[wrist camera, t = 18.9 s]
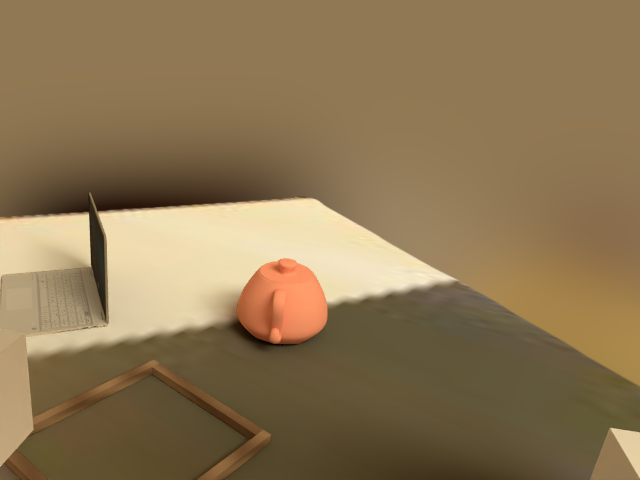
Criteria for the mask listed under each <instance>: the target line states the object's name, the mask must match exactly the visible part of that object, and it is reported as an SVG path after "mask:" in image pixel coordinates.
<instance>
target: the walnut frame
mask: <svg viewBox="0 0 640 480" xmlns="http://www.w3.org/2000/svg"><path fill="white" fill-rule="evenodd" d="M151 374H152V375H154V376H155V377H157V378H158V379H160V380H161V381H163V382H164V383H166V384H167V385H169V386H170V387H172V388H174V389H175V390H177V391H178V392H180V393H181V394H183V395H184V396H186V397H187V398H189V399H190V400H192V401H193V402H195V403H196V404H198V405H199V406H201V407H202V408H204V409H205V410H207V411H208V412H210V413H211V414H213V415H214V416H216V417H217V418H219V419H220V420H222V421H223V422H225V423H226V424H228V425H229V426H231V427H232V428H234V429H235V430H237V431H238V432H240V433H241V434H243V435H244V436H246V437H247V438H249V439H250V440H249V441H248V442H246V443H245V444H244V445H242V446H241V447H240V448H238V449H237V450H236V451H234V452H233V453H232V454H230V455H229V456H228V457H226V458H225V459H224V460H222V461H221V462H220V463H218V464H217V465H216V466H214V467H213V468H212V469H210V470H209V471H208V472H206V473H205V474H204V475H202V476H201V477H200V478H198V479H197V480H223V479H225V478H226V477H227V476H228V475H230V474H231V473H232V472H234V471H235V470H236V469H237V468H239V467H240V466H241V465H242V464H244V463H245V462H246V461H247V460H249V459H250V458H251V457H253V456H254V455H255V454H256V453H258V452H259V451H260V450H261V449H263V448H264V447H265V446H267V445H268V444H269V443H270V438H271V434H269V433H267V432H266V431H264V430H263V429H261V428H260V427H258V426H256V425H255V424H253V423H252V422H250V421H249V420H247V419H246V418H244V417H242V416H241V415H239V414H238V413H236V412H235V411H233V410H231V409H230V408H228V407H227V406H225V405H224V404H222V403H220V402H219V401H217V400H216V399H214V398H213V397H211V396H210V395H208V394H206V393H205V392H203V391H202V390H200V389H199V388H197V387H195V386H194V385H192V384H191V383H189V382H188V381H186V380H185V379H183V378H181V377H180V376H178V375H177V374H175V373H174V372H172V371H170V370H169V369H167V368H166V367H164V366H163V365H161V364H160V363H158V362H156V361H155V360H152V361H150V362H148V363H146V364H144V365H142V366H139V367H137V368H135V369H133V370H131V371H129V372H127V373H125V374H123V375H121V376H119V377H117V378H115V379H112V380H110V381H108V382H106V383H104V384H102V385H100V386H98V387H96V388H94V389H92V390H90V391H87V392H85V393H83V394H81V395H79V396H77V397H75V398H73V399H71V400H69V401H67V402H65V403H63V404H60V405H58V406H56V407H54V408H52V409H50V410H48V411H46V412H44V413H42V414H40V415H38V416H36V417H33V429H34V430H33V431H32V432H31V433H30V434H29V435H28V436H27V437H29V436H31V435H33V434H35V433H37V432H39V431H40V430H42V429H44V428H46V427H48V426H50V425H52V424H54V423H56V422H58V421H60V420H62V419H64V418H66V417H68V416H70V415H72V414H74V413H76V412H78V411H80V410H82V409H84V408H86V407H88V406H90V405H92V404H94V403H96V402H98V401H100V400H102V399H104V398H106V397H108V396H110V395H112V394H114V393H116V392H118V391H120V390H122V389H124V388H126V387H128V386H130V385H132V384H134V383H136V382H138V381H139V380H141V379H143V378H145V377H147V376H149V375H151ZM4 463H5V464H6V465H7V466H8V467H9V468H10V469H11V470H12V471H13V472H14V473H15V474H16V475H17V476H18V477H19V478H20V479H21V480H48V479H47V478H46V477H45V476H44V475H43V474H42V473H41V472H40V471H39V470H38V469H37V468H36V467H35V466H34V465H32V464H31V463H30V462H29V461H28V460H27V459H26V458H25V457H24V456H23V455H22V454H21V453H20V452H19V451H18V450H17V449H16V450H15V451H14V452H13V453H12V454H11V455H10V457H9V458H8V459H7V460H6V461H5V462H4Z"/></svg>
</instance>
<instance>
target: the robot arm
mask: <svg viewBox="0 0 640 480" xmlns="http://www.w3.org/2000/svg"><path fill="white" fill-rule="evenodd" d="M33 430H34V429H33V418H32V406H31V395H30V384H29V372H28V361H27V350H26V338H25V333H24V332H18V331H12V330H6V329H0V467H1V465H2V464H3V463H4V462H5V461H6V460H7V459H8V458H9V457H10V455H11V454H12V453H13V452H14V451H15V450H16V449H17V448H18V446H19V445H20V444H21V443H22V442H23V441H24V440H25V439H26V438H27V436H28V435H29V434H30V433H31V432H32V431H33ZM590 480H640V433H639V432H633V431H627V430H620V429H614V428H610V429H609V431H608V434H607V437H606V439H605V442H604V444H603V447H602V450H601V452H600V455H599V458H598V460H597V463H596V466H595V468H594V471H593V473H592V476H591V479H590Z"/></svg>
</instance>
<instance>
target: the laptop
mask: <svg viewBox="0 0 640 480" xmlns="http://www.w3.org/2000/svg"><path fill="white" fill-rule="evenodd" d="M89 220H90V248H91V266H92V268H78V269H66V270H54V271H42V272H30V273H18V274H6V275H2V279H1V294H0V329H6V330H12V331H18V332H24V333H25V337H29V336H37V335H45V334H52V333H60V331H68V330H72V331H75V330H77V329H79V330H82V329H84V328H88V329H90V328H91V327H96V326H97V327H103V326H107V323H109V315H108V278H107V241H106V235H105V232H104V229H103V226H102V223H101V221H100V218H99V215H98V212H97V210H96V207H95V204H94V201H93V198H92V196H91V193H89ZM95 282H96V283H95ZM99 297H100V298H99Z"/></svg>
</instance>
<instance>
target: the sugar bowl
mask: <svg viewBox="0 0 640 480" xmlns="http://www.w3.org/2000/svg"><path fill="white" fill-rule="evenodd" d="M237 315H238V319H239V321H240V322H241V324H242V325H243V326H244V327H245V329H246V330H248V332H250V333H251V334H252V335H253V336H254V337H255V338H258V339H261V340H264V341H267V342H271V343H273V344H277V343H278V344H300V343H302V342H303V341H306V340H308V339H310V338H311V337H313V336H314V335H316V334H317V333H318V332H319V331H321V330H322V328H323V327H324V325H325V324H326V321H327V304H326V299H325V295H324V292H323V290H322V288H321V286H320V284H319V282H318V280H317V278H316V276H315V275H314V273H313V272H312V271H311V270H310V269H309V268H307V267H306V266H303V265H301V264H298V263H297V262H296V261H294V260H292V259H280V260H279V261H277V262H270V263H267V264H265V265H263V266H262V267H260V268H259V269H258V270H257V271H256V273H255V274H254V275H253V276H252V278H251V279H250V280H249V281H248V283H247V284H246V286H245V287H244V289H243V291H242V293H241V296H240V299H239V302H238V307H237Z"/></svg>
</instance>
